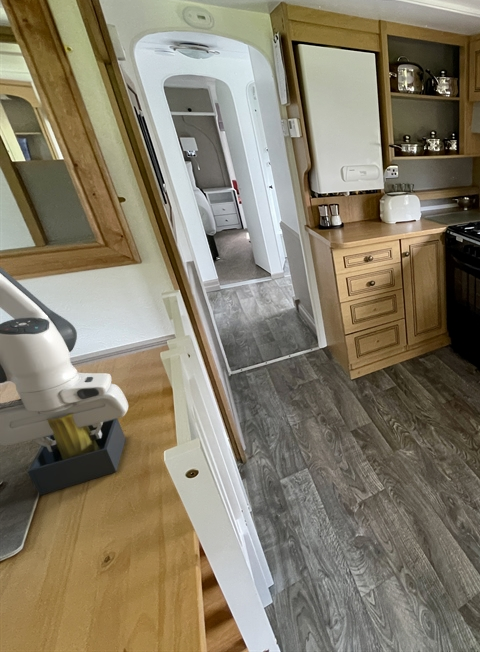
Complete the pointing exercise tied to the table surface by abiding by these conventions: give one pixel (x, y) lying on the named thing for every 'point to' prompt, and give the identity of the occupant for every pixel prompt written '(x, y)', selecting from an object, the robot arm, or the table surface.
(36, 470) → the bin
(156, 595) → the table surface
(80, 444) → the vase
